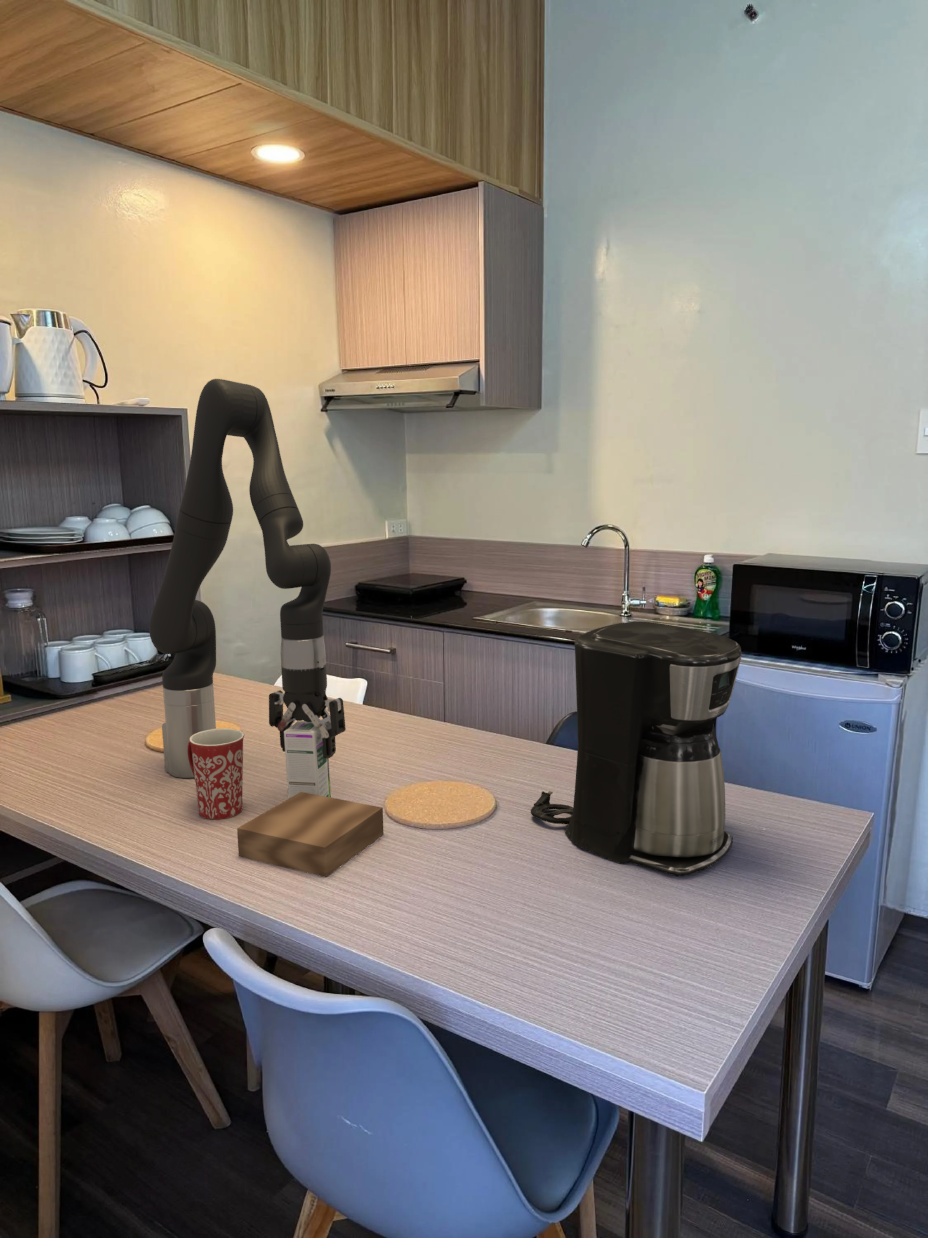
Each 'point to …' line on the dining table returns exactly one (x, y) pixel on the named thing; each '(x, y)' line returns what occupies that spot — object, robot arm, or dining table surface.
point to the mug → (217, 771)
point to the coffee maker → (650, 746)
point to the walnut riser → (310, 833)
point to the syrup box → (306, 760)
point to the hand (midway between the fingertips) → (308, 754)
